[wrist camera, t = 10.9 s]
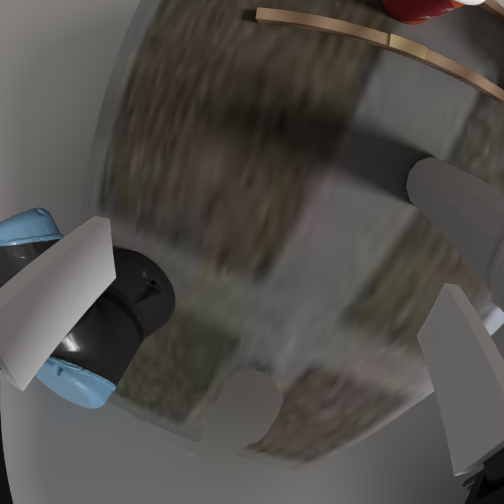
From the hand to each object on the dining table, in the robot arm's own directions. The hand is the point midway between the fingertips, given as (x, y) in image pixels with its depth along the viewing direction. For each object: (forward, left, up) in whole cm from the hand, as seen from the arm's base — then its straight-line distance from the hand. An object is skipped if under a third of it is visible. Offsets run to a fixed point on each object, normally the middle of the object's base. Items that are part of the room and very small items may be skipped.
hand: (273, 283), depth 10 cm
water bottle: (+18, +2, -26) cm, 32 cm away
